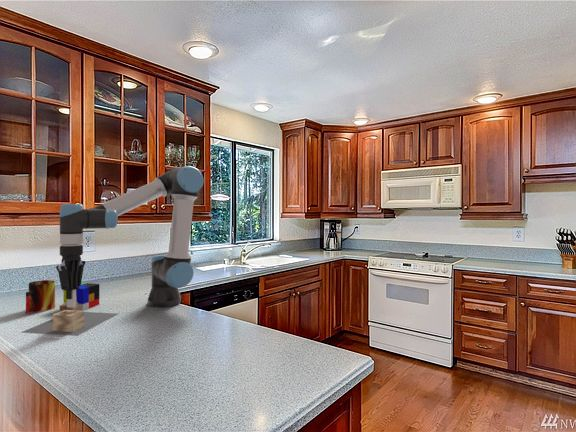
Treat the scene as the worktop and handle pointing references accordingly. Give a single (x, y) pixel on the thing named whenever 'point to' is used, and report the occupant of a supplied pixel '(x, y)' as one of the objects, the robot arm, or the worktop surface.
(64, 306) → the walnut cube
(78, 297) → the puzzle toy
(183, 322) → the worktop surface
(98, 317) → the mat
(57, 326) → the oak block
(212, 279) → the worktop surface
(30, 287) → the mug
